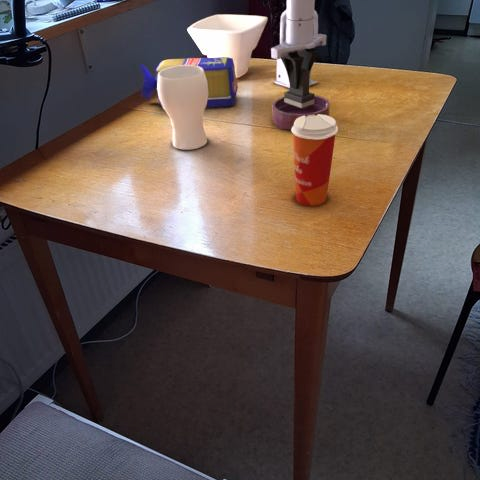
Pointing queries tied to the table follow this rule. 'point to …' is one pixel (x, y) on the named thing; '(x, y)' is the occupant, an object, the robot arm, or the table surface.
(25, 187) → the table surface
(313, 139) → the paper cup
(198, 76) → the cup
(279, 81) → the robot arm
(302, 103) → the brush
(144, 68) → the bread
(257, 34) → the bowl
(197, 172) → the table surface
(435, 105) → the table surface
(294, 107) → the plum bowl
